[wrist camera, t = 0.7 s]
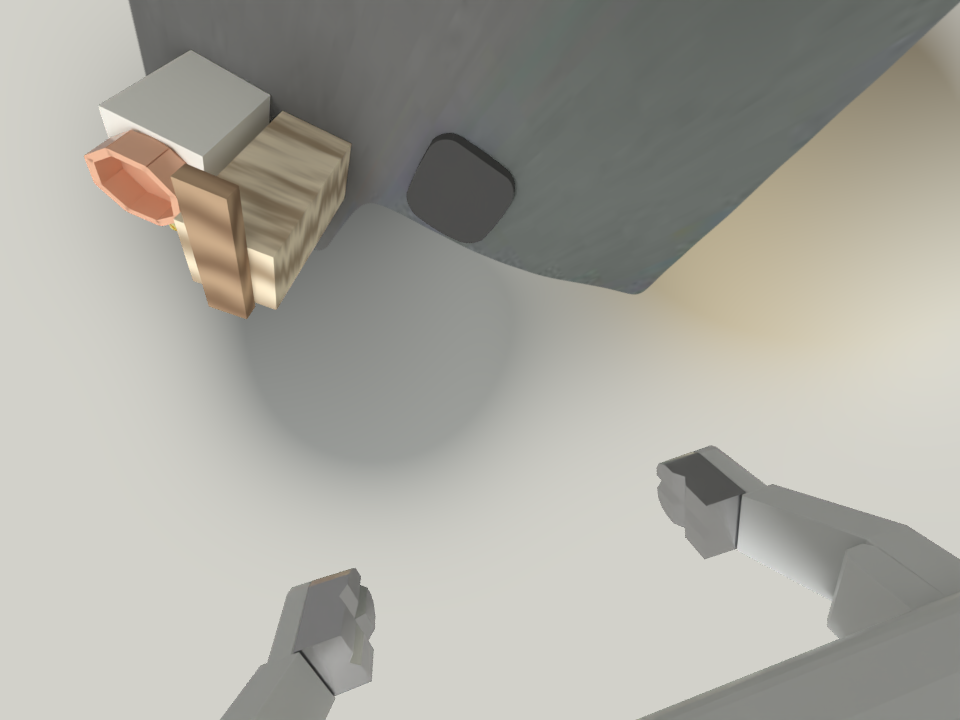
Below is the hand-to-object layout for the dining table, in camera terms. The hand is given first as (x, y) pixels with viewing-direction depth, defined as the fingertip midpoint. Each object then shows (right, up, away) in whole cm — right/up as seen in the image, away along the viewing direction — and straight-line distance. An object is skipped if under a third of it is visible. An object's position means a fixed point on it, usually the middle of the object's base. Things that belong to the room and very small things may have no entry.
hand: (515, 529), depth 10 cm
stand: (-27, +36, +49) cm, 67 cm away
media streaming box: (-4, +32, +51) cm, 60 cm away
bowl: (-39, +27, +35) cm, 60 cm away
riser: (-37, +41, +45) cm, 71 cm away
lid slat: (-29, +17, +32) cm, 46 cm away
